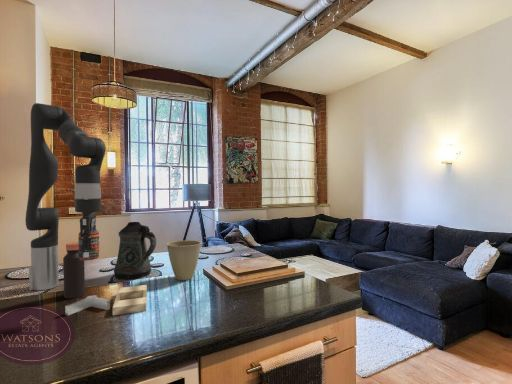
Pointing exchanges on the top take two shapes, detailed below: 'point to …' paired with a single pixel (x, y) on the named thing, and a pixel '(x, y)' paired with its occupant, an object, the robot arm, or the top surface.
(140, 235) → the beer stein
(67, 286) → the vinegar
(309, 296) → the top surface
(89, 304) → the aluminium v block
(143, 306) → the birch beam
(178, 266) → the plant pot
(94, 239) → the supplement bottle
